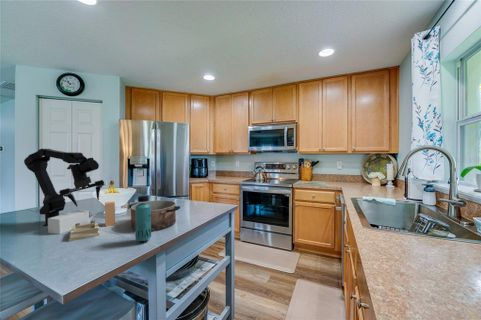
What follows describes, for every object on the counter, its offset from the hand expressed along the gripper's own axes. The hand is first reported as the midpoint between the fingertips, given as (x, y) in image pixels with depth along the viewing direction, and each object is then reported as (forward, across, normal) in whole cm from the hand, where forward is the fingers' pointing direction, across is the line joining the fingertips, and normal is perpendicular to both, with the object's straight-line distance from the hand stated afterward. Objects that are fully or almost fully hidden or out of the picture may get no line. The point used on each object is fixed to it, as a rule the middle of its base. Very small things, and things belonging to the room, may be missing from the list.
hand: (87, 203), depth 106 cm
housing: (+14, -3, -9) cm, 17 cm away
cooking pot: (+22, +26, -13) cm, 36 cm away
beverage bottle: (+24, +18, -33) cm, 44 cm away
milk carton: (+6, -15, -3) cm, 16 cm away
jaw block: (+14, +7, -2) cm, 16 cm away
